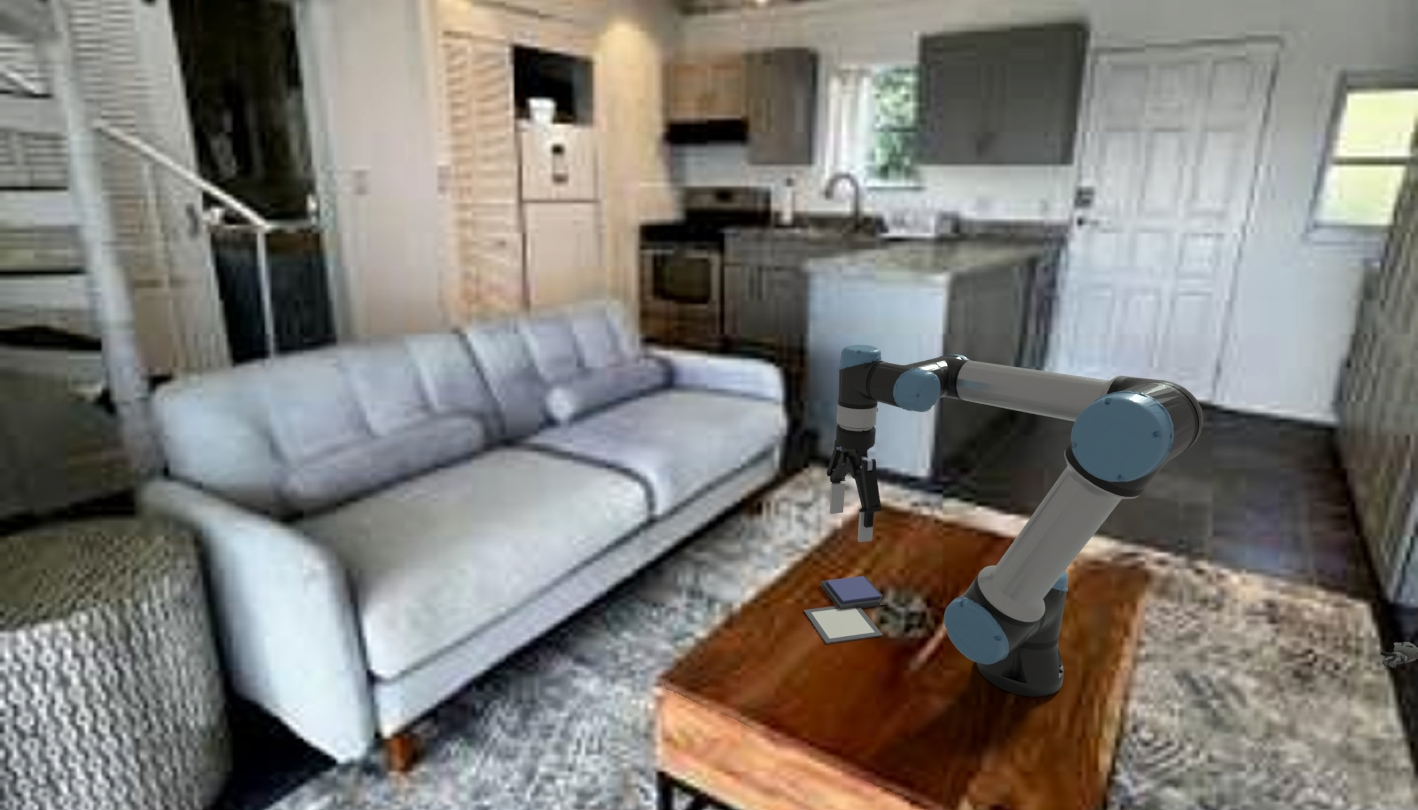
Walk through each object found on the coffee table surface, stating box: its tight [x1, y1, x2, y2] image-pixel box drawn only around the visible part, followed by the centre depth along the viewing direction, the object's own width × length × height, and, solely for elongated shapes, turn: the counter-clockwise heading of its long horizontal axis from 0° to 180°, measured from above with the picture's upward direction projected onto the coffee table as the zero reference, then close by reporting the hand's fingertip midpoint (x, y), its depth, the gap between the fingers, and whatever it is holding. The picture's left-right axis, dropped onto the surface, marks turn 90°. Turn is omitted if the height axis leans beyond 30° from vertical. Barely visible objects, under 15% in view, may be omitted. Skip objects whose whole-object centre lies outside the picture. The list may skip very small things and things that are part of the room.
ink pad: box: [820, 575, 884, 610], centre depth 170 cm, size 11×11×2 cm
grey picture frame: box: [803, 605, 884, 645], centre depth 159 cm, size 12×12×1 cm
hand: (850, 526), depth 152 cm, fingers open, 13 cm apart
